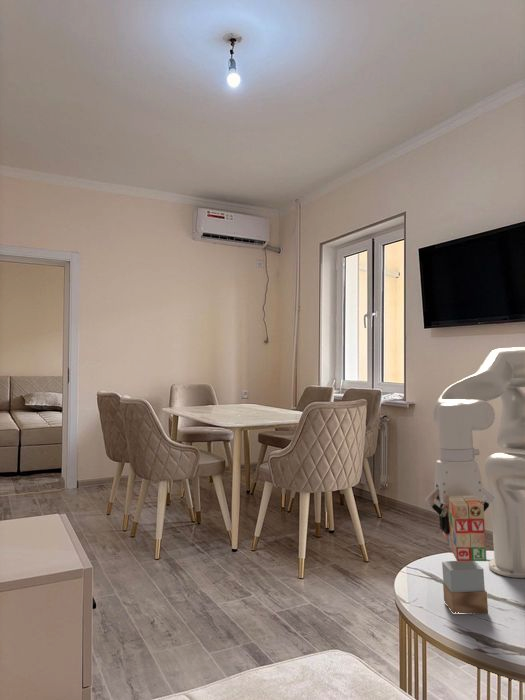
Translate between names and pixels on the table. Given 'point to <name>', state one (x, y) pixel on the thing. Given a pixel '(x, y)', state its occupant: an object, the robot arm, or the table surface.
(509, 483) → the robot arm
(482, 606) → the tower bottom
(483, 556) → the stack of blocks
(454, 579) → the tower top
